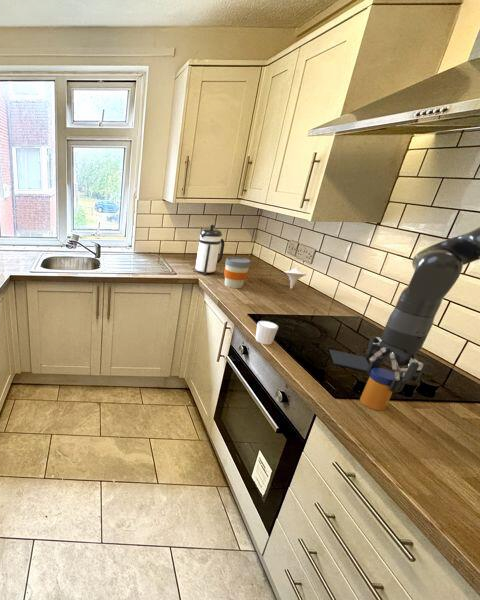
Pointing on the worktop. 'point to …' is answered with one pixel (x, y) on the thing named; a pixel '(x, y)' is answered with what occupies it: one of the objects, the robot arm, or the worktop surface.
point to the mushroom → (294, 276)
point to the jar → (375, 395)
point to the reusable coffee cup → (236, 271)
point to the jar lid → (382, 376)
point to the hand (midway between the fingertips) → (382, 382)
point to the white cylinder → (266, 332)
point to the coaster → (349, 360)
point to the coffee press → (209, 250)
